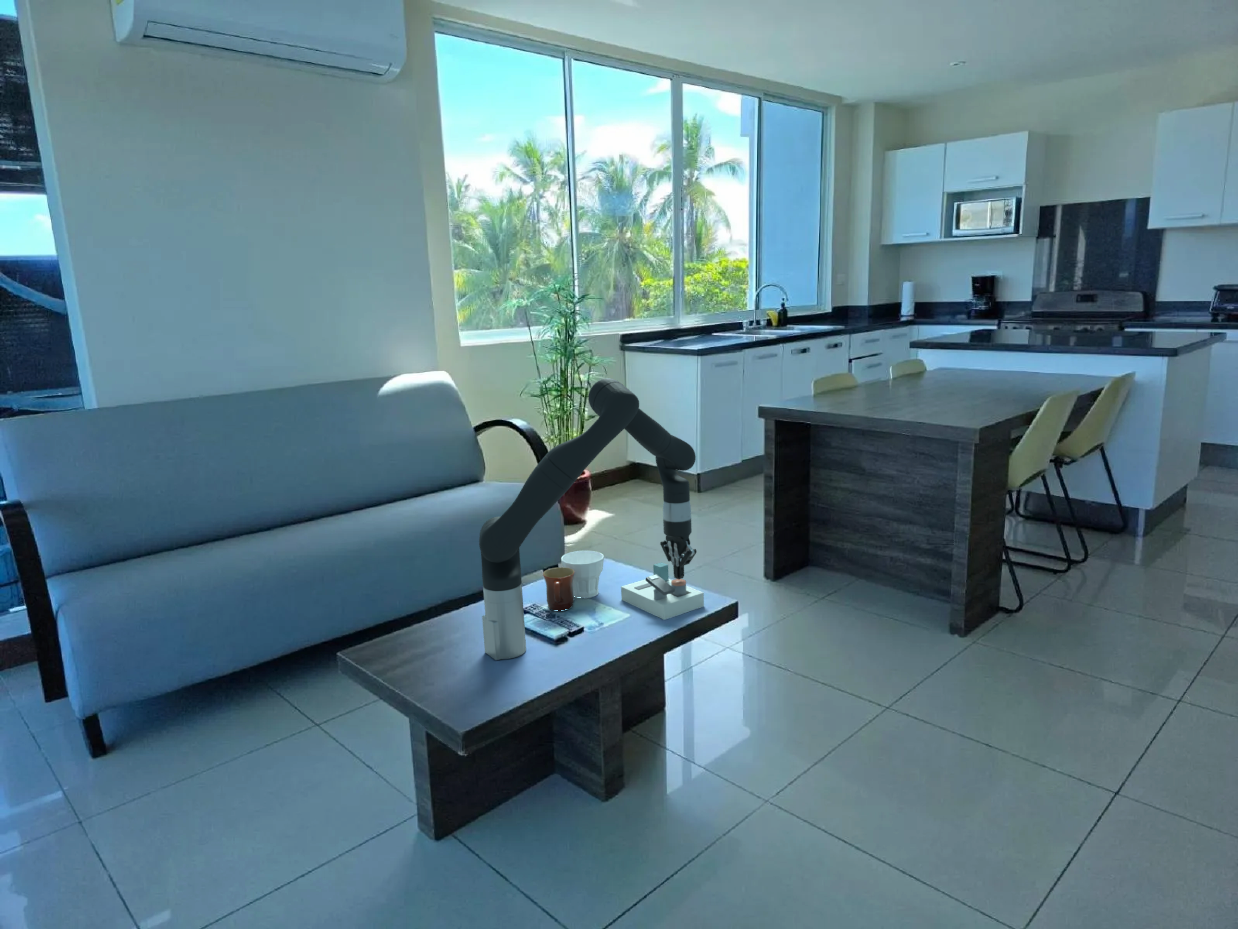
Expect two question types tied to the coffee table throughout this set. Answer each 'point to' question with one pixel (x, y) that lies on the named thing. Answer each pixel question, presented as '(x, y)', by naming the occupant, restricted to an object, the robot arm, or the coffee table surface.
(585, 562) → the cup
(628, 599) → the panel
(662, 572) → the slider knob
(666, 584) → the rocker
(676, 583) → the push button
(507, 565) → the robot arm
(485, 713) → the coffee table surface
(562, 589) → the mug
